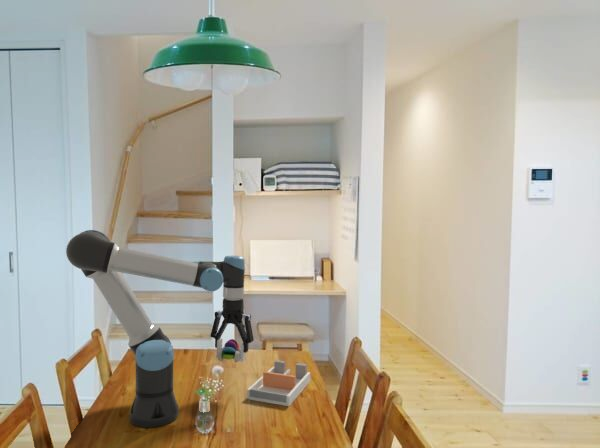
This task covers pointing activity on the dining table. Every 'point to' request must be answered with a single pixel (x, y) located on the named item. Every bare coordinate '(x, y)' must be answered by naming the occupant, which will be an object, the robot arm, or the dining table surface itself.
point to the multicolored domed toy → (230, 351)
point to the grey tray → (278, 394)
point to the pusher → (279, 380)
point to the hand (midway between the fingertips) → (231, 358)
